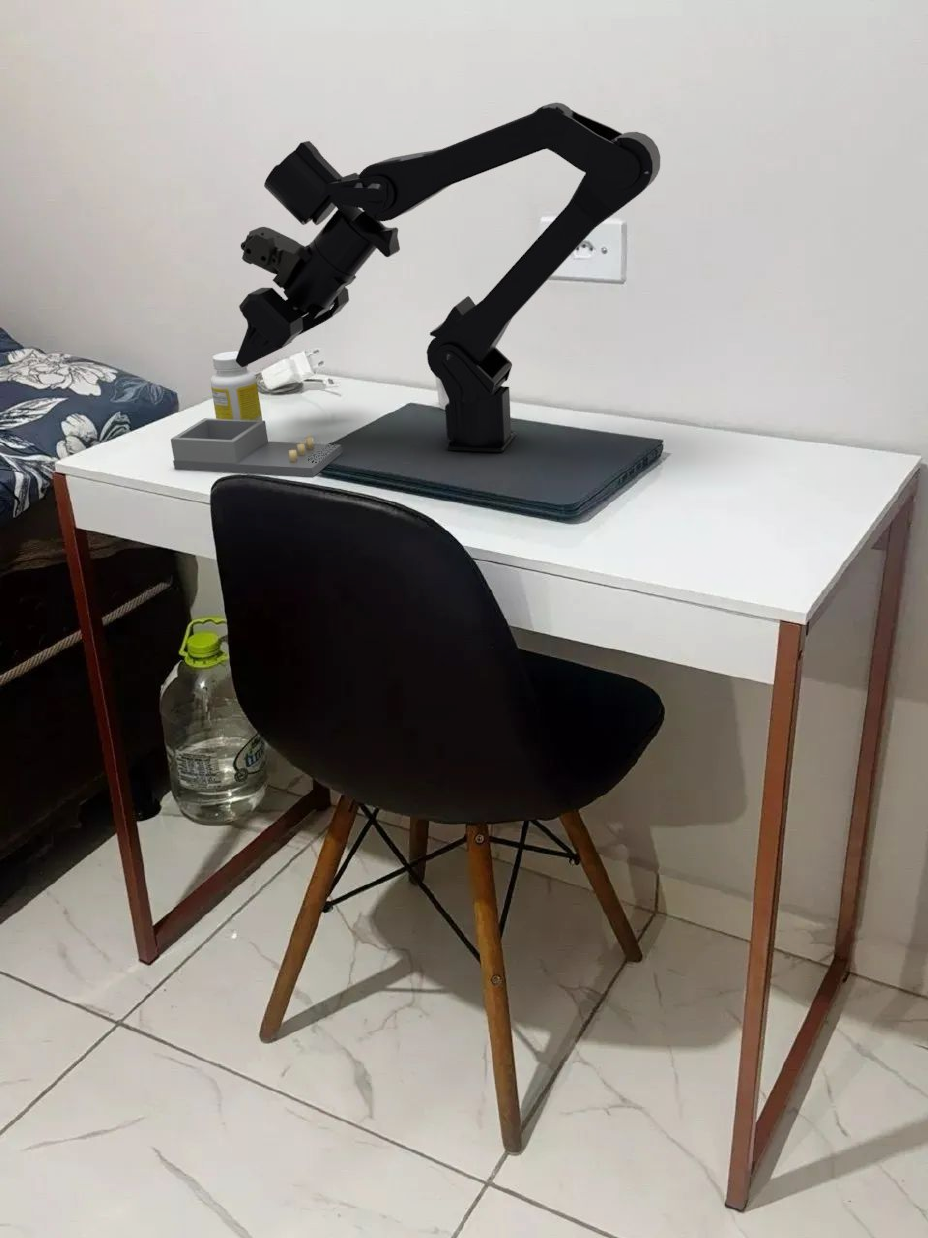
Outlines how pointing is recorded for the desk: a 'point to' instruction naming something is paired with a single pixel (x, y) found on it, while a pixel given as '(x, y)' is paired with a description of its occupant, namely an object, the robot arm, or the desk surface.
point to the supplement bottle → (234, 389)
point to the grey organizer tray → (246, 450)
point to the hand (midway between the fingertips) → (256, 353)
